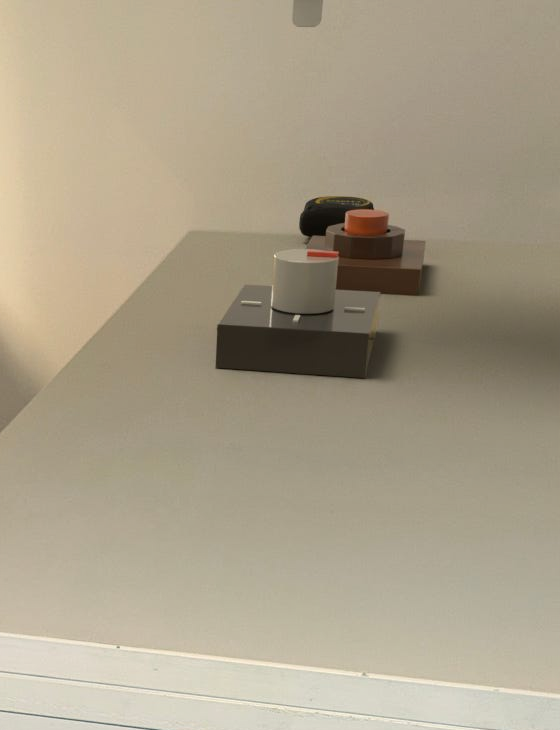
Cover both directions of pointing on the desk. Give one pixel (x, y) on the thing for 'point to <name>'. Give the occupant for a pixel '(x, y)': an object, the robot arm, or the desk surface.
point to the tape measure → (328, 213)
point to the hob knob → (304, 281)
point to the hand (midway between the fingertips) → (306, 22)
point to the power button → (366, 222)
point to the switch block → (374, 260)
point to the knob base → (298, 335)
